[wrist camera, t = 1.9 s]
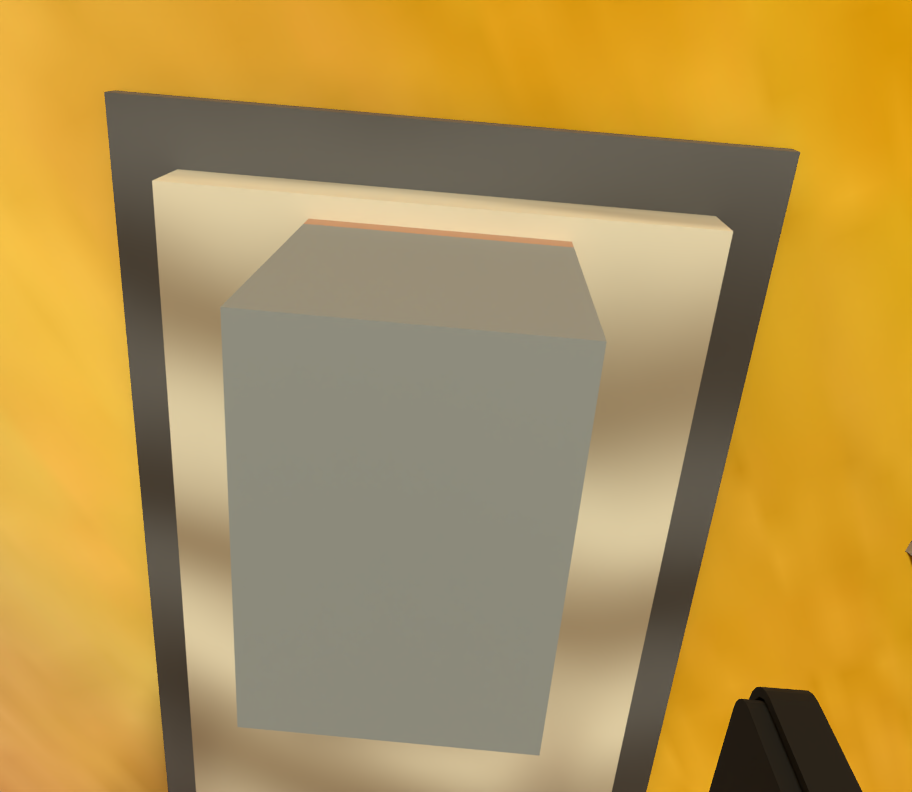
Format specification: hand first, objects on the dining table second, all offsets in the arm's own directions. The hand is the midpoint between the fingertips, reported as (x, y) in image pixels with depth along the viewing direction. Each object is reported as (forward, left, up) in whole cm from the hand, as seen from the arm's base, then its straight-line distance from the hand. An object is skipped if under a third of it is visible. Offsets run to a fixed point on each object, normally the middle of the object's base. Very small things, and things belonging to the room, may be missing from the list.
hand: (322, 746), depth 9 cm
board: (0, +5, -12) cm, 13 cm away
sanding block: (0, 0, -10) cm, 10 cm away
